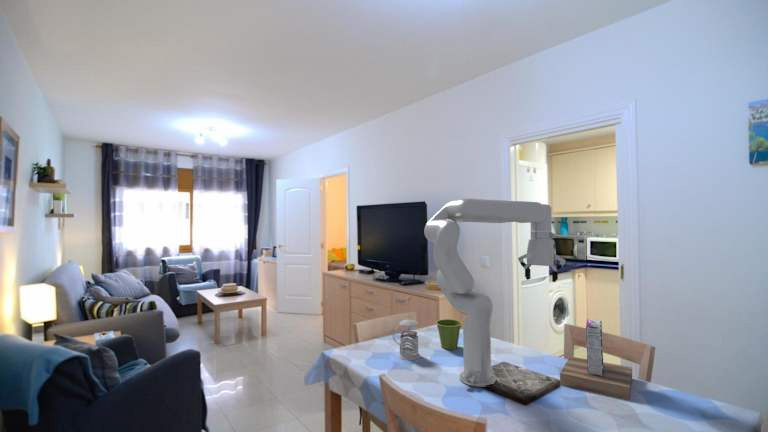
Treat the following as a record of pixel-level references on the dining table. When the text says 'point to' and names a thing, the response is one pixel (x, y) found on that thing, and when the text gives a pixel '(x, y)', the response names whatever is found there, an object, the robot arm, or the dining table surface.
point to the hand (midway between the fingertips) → (541, 280)
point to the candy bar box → (594, 347)
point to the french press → (408, 340)
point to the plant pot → (449, 332)
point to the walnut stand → (598, 378)
